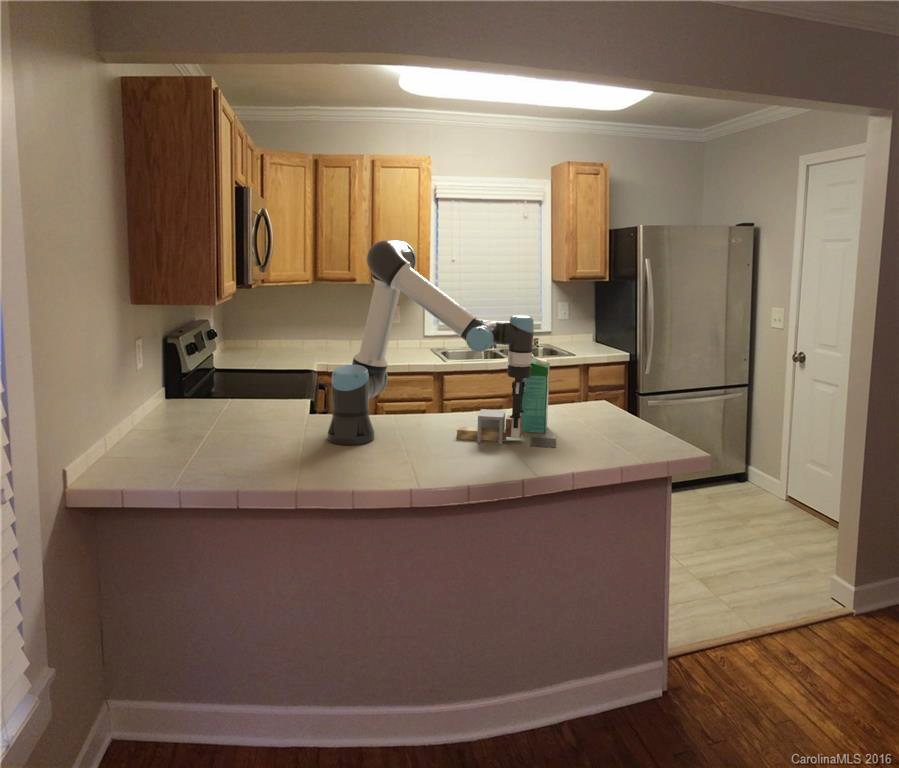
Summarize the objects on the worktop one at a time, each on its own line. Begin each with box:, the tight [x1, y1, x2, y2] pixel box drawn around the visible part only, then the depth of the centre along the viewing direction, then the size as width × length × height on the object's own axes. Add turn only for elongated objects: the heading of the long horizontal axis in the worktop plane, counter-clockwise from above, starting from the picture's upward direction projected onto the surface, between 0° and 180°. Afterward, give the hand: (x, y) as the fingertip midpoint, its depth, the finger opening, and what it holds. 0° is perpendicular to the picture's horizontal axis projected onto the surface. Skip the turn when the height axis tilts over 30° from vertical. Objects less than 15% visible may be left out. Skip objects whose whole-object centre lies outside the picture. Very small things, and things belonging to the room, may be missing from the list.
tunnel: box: [476, 408, 506, 445], centre depth 234 cm, size 8×9×9 cm
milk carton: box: [521, 357, 551, 434], centre depth 246 cm, size 9×9×25 cm
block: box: [505, 414, 523, 439], centre depth 233 cm, size 5×5×6 cm
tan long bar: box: [456, 426, 507, 442], centre depth 236 cm, size 16×4×3 cm, turn 81°
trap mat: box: [529, 436, 557, 449], centre depth 232 cm, size 8×10×1 cm
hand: (515, 434), depth 233 cm, fingers closed on block, 5 cm apart
